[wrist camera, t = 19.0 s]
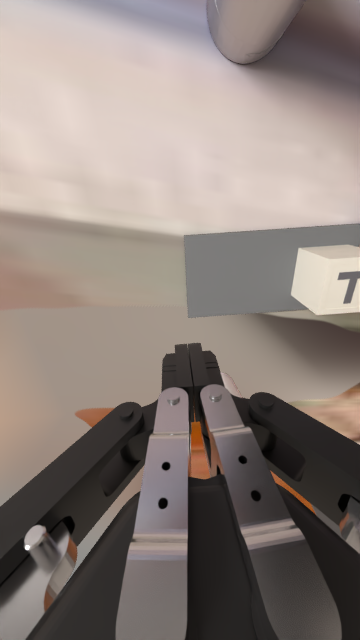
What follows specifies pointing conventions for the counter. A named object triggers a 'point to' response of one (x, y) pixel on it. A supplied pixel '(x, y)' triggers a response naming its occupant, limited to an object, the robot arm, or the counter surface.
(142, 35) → the counter surface
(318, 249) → the off-white cube
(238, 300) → the rubber mat
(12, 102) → the counter surface
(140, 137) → the counter surface
